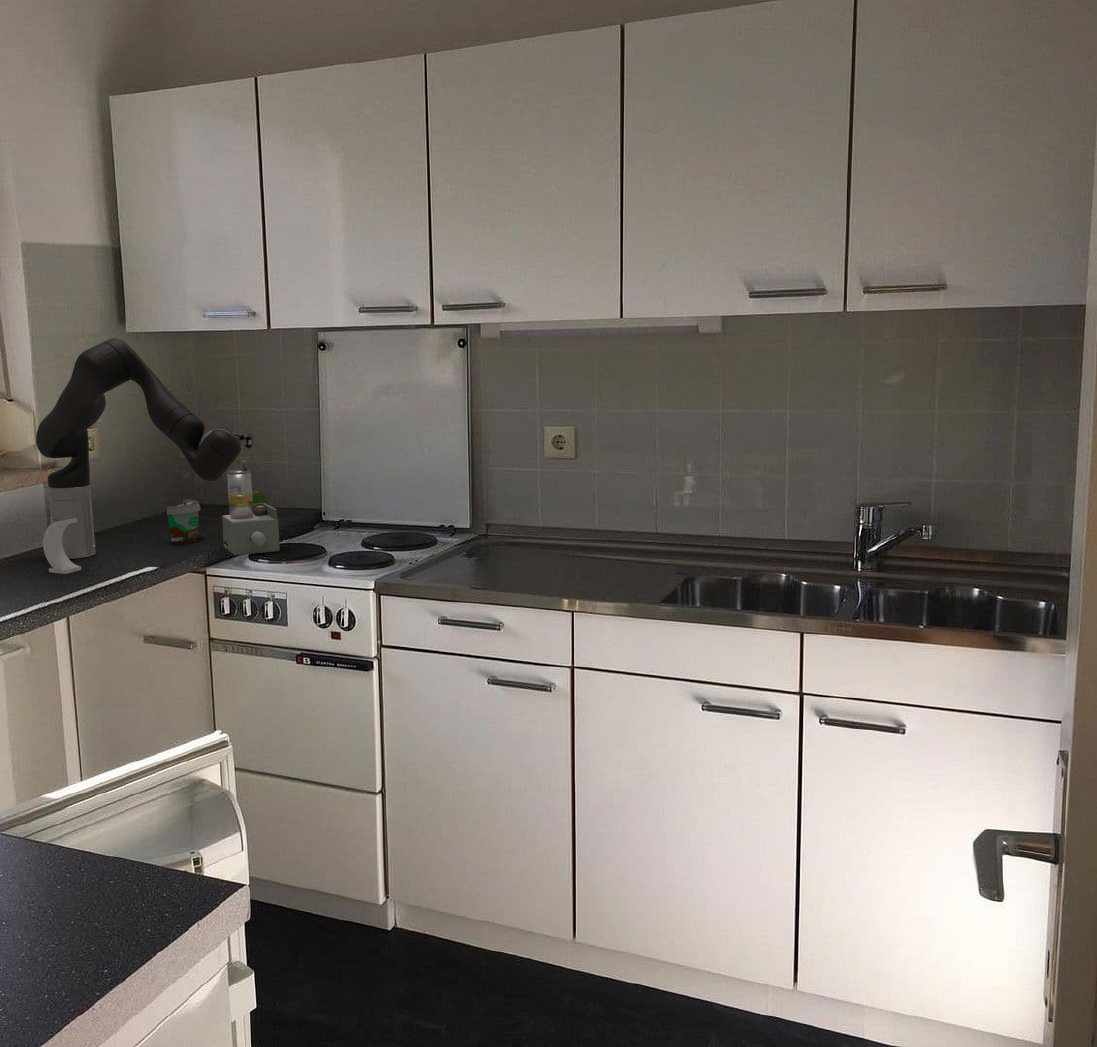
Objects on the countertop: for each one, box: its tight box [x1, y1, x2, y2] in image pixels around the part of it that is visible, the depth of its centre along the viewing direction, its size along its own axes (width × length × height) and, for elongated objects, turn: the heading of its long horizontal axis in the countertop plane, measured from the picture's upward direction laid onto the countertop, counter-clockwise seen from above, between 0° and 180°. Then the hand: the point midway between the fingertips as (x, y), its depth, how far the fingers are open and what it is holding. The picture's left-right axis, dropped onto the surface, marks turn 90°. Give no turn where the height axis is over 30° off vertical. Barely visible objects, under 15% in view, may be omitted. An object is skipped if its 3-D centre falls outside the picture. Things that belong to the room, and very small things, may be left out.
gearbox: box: [221, 503, 281, 556], centre depth 264 cm, size 11×15×10 cm
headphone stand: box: [42, 518, 82, 575], centre depth 241 cm, size 5×6×12 cm
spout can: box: [226, 460, 254, 519], centre depth 262 cm, size 6×6×14 cm
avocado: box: [252, 489, 271, 506], centre depth 284 cm, size 8×8×12 cm
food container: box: [166, 499, 201, 545], centre depth 276 cm, size 12×6×10 cm, turn 179°
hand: (221, 438), depth 246 cm, fingers open, 8 cm apart
